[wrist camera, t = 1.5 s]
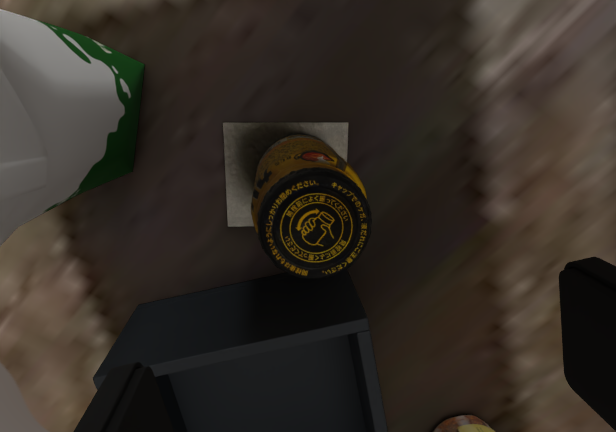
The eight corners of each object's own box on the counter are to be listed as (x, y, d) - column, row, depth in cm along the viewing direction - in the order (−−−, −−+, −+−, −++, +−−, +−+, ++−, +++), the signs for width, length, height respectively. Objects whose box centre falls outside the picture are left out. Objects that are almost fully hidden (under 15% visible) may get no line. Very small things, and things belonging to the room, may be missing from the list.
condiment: (344, 223, 32) (385, 296, 21) (227, 225, 32) (203, 302, 20) (347, 122, 30) (395, 140, 19) (223, 122, 30) (193, 141, 18)
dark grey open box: (138, 304, 33) (91, 378, 24) (343, 260, 33) (367, 317, 25) (200, 486, 38) (179, 600, 29) (378, 446, 38) (408, 547, 30)
